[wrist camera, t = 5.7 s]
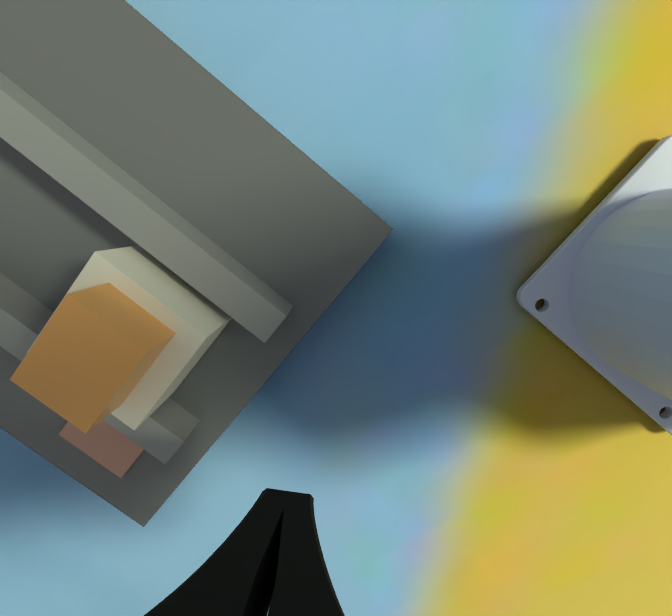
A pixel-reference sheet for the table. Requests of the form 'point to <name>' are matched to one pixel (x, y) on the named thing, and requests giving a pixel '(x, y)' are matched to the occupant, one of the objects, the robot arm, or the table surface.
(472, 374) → the table surface
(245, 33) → the table surface
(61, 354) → the lever
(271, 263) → the breaker panel
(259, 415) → the table surface
